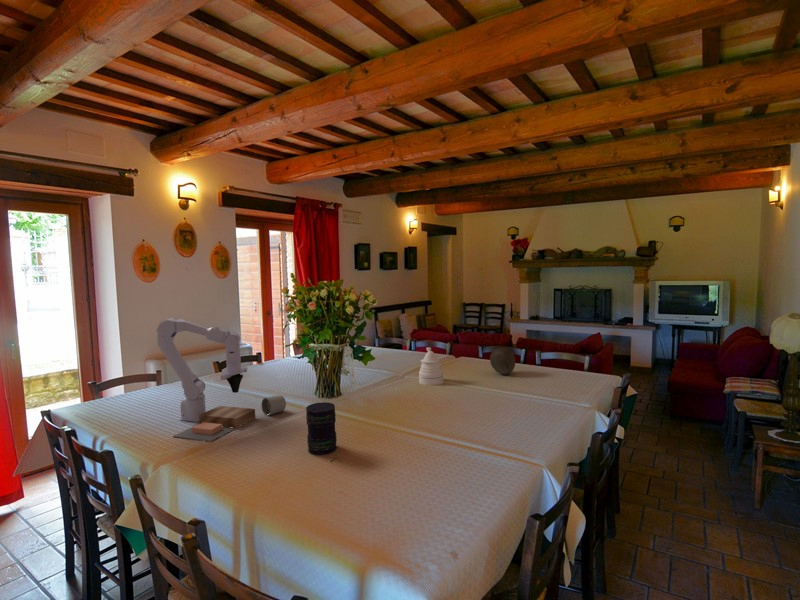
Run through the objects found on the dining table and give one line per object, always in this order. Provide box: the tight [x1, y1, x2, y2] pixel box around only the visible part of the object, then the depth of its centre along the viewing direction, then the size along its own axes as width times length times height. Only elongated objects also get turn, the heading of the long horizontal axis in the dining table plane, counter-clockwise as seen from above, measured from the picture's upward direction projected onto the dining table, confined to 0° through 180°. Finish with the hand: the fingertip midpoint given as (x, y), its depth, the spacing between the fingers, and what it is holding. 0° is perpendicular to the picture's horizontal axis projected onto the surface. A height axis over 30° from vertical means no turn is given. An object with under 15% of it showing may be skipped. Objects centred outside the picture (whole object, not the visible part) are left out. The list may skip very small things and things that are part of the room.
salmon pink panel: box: [191, 422, 222, 435], centre depth 169 cm, size 9×6×2 cm, turn 72°
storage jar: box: [305, 401, 337, 456], centre depth 149 cm, size 10×10×15 cm
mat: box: [172, 423, 236, 442], centre depth 168 cm, size 18×13×1 cm
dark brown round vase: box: [489, 347, 516, 376], centre depth 243 cm, size 14×14×15 cm
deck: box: [198, 405, 256, 429], centre depth 180 cm, size 18×12×4 cm, turn 72°
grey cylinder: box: [260, 394, 287, 416], centre depth 190 cm, size 11×8×8 cm
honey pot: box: [418, 347, 444, 386], centre depth 231 cm, size 13×13×18 cm
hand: (235, 392), depth 188 cm, fingers closed
